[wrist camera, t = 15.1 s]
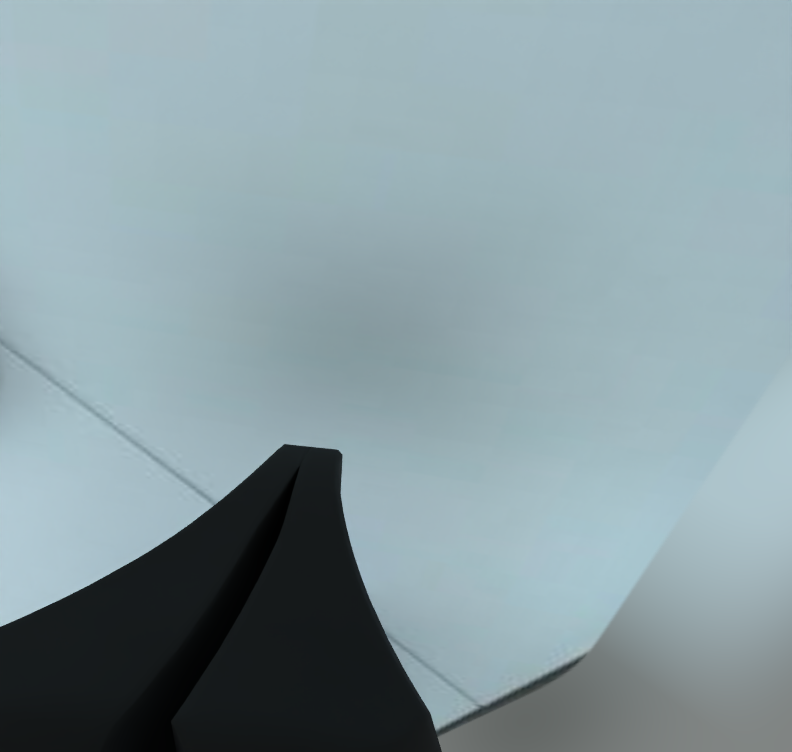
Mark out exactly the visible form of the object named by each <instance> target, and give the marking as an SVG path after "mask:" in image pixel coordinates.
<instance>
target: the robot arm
mask: <svg viewBox="0 0 792 752" xmlns="http://www.w3.org/2000/svg"><path fill="white" fill-rule="evenodd" d="M341 473H342V454H341V453H340V452H339V450H335V449H325V448H316V447H306V446H296V445H287V444H284V445H283V446H282V447H280V448H279V449H278V450H277V451H276V452H275V453H274V454H273V455H272V456H270V457H269V458H268V459H267V460H266V461H265V462H264V463H263V464H262V465H261V466H260V467H259V468H258V469H256V470H255V471H254V472H253V473H252V474H251V475H250V476H249V477H248V478H246V479H245V480H244V481H243V482H242V483H241V484H239V485H238V486H237V487H236V488H235V489H234V490H232V491H231V492H230V493H229V494H228V495H227V496H225V497H224V498H223V499H222V500H221V501H219V502H218V503H217V504H215V505H214V506H213V507H212V508H210V509H209V510H208V511H206V512H205V513H204V514H203V515H201V516H200V517H199V518H197V519H196V520H195V521H193V522H192V523H191V524H189V525H188V526H187V527H185V528H184V529H182V530H181V531H180V532H178V533H177V534H175V535H174V536H172V537H171V538H169V539H168V540H166V541H165V542H163V543H162V544H160V545H159V546H157V547H155V548H154V549H152V550H151V551H149V552H148V553H146V554H144V555H143V556H141V557H139V558H138V559H136V560H134V561H132V562H130V563H129V564H127V565H125V566H123V567H121V568H120V569H118V570H116V571H114V572H112V573H111V574H109V575H107V576H105V577H103V578H102V579H100V580H98V581H96V582H94V583H93V584H91V585H89V586H87V587H85V588H83V589H81V590H79V591H77V592H75V593H73V594H71V595H69V596H67V597H65V598H63V599H61V600H59V601H57V602H55V603H52V604H50V605H48V606H46V607H44V608H42V609H40V610H37V611H35V612H33V613H31V614H29V615H27V616H24V617H22V618H20V619H18V620H15V621H13V622H11V623H8V624H6V625H4V626H1V627H0V752H442V751H441V747H440V744H439V741H438V738H437V734H436V731H435V728H434V724H433V721H432V717H431V714H430V712H429V710H428V709H427V707H426V705H425V704H424V702H423V700H422V699H421V697H420V696H419V694H418V692H417V691H416V689H415V687H414V686H413V684H412V682H411V680H410V679H409V677H408V675H407V674H406V672H405V670H404V668H403V667H402V665H401V663H400V661H399V659H398V657H397V655H396V653H395V651H394V650H393V648H392V646H391V644H390V642H389V640H388V638H387V636H386V634H385V632H384V629H383V627H382V625H381V623H380V621H379V618H378V616H377V614H376V612H375V610H374V608H373V605H372V603H371V601H370V599H369V596H368V594H367V591H366V588H365V586H364V583H363V581H362V578H361V575H360V572H359V569H358V566H357V563H356V560H355V557H354V554H353V550H352V547H351V543H350V540H349V536H348V532H347V528H346V523H345V518H344V513H343V507H342V501H341V494H340V493H341Z"/></svg>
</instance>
